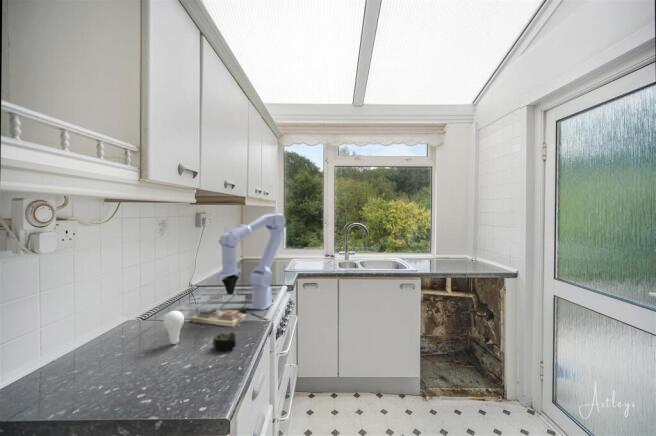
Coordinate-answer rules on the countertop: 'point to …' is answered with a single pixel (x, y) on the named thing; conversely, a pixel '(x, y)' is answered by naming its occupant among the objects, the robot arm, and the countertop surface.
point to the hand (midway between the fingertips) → (230, 293)
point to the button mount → (219, 319)
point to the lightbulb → (174, 325)
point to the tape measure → (224, 341)
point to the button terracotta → (230, 313)
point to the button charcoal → (207, 311)
